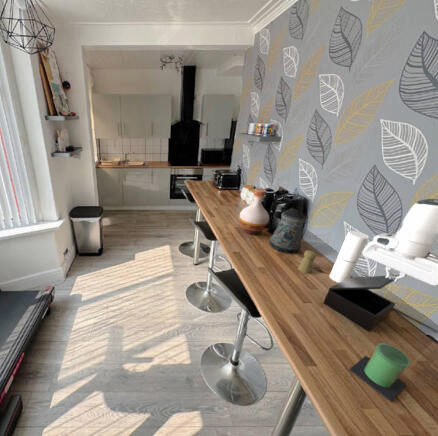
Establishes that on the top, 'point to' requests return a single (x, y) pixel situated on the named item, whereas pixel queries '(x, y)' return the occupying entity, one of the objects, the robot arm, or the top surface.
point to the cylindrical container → (348, 256)
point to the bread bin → (360, 306)
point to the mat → (386, 392)
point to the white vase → (255, 214)
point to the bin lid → (362, 283)
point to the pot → (386, 365)
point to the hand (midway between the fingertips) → (391, 279)
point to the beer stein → (288, 231)
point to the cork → (307, 262)
